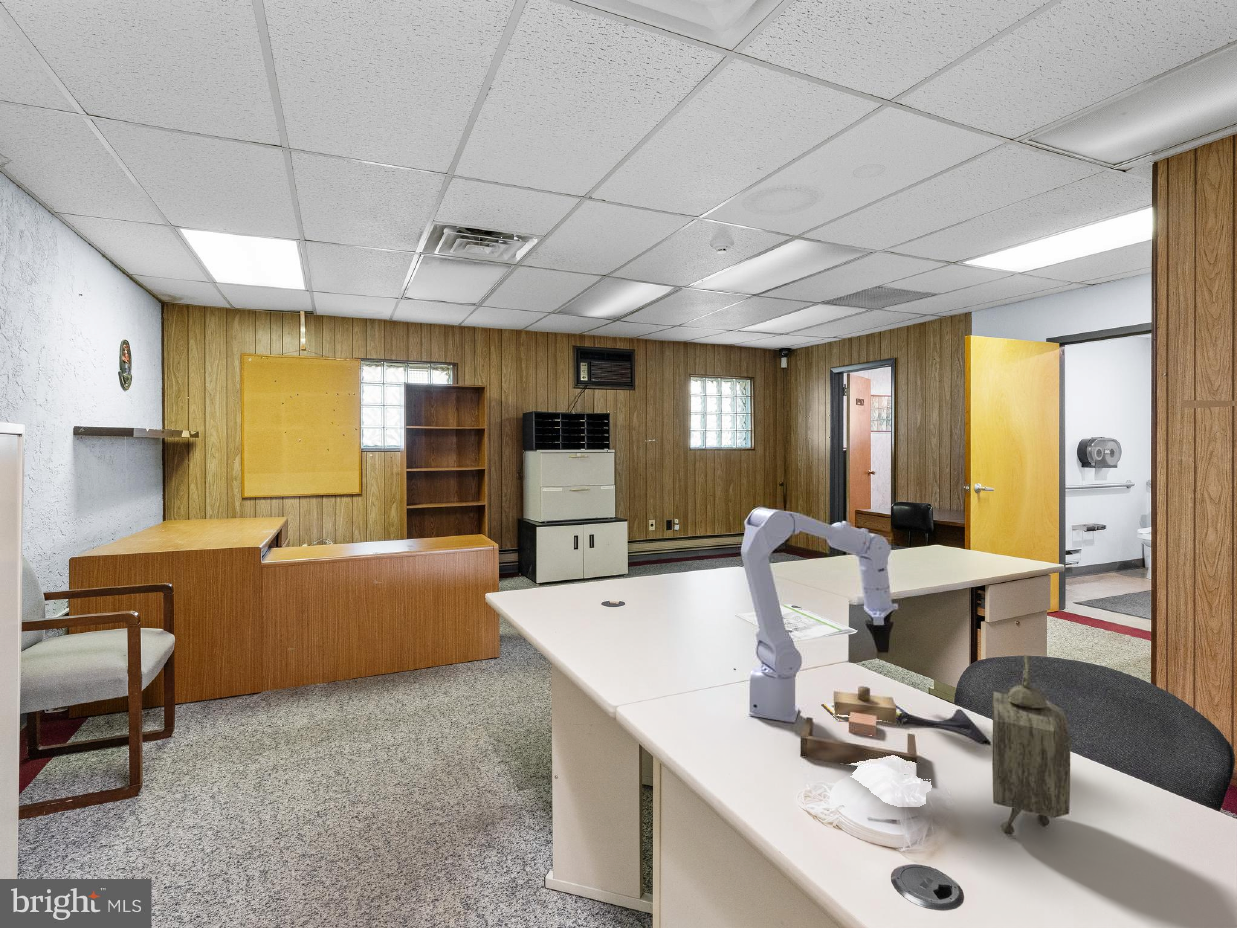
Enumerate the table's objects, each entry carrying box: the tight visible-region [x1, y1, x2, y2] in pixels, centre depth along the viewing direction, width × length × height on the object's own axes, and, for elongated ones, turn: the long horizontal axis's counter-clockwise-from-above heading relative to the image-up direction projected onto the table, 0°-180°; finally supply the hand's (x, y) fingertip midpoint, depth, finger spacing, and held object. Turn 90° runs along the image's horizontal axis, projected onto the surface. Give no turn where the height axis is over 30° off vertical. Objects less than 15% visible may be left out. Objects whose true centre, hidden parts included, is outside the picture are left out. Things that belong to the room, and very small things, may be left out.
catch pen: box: [799, 716, 918, 765], centre depth 115 cm, size 19×10×4 cm, turn 67°
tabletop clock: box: [991, 654, 1071, 836], centre depth 94 cm, size 14×9×25 cm, turn 150°
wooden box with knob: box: [833, 685, 897, 724], centre depth 133 cm, size 12×6×6 cm, turn 73°
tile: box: [848, 712, 877, 737], centre depth 126 cm, size 5×5×2 cm
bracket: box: [897, 708, 992, 746], centre depth 127 cm, size 14×15×3 cm
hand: (883, 645), depth 139 cm, fingers open, 7 cm apart
